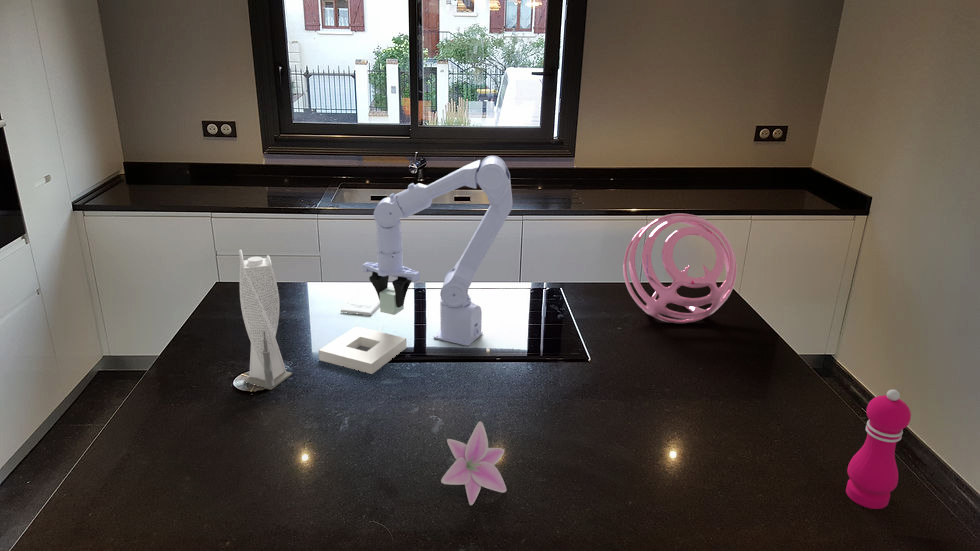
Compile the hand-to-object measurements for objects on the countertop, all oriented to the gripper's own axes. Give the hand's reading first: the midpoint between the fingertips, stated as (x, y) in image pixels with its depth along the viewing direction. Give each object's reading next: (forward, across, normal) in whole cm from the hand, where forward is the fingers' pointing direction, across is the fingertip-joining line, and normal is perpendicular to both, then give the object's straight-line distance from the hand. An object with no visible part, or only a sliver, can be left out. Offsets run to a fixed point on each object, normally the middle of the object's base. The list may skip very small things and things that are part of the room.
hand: (391, 304), depth 164 cm
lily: (+8, +43, -43) cm, 62 cm away
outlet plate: (+8, 0, -12) cm, 14 cm away
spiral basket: (+8, +59, +42) cm, 73 cm away
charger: (+2, 0, 0) cm, 2 cm away
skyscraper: (+8, -12, -30) cm, 33 cm away
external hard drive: (+8, -16, +11) cm, 21 cm away
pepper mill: (+8, +102, -16) cm, 103 cm away
